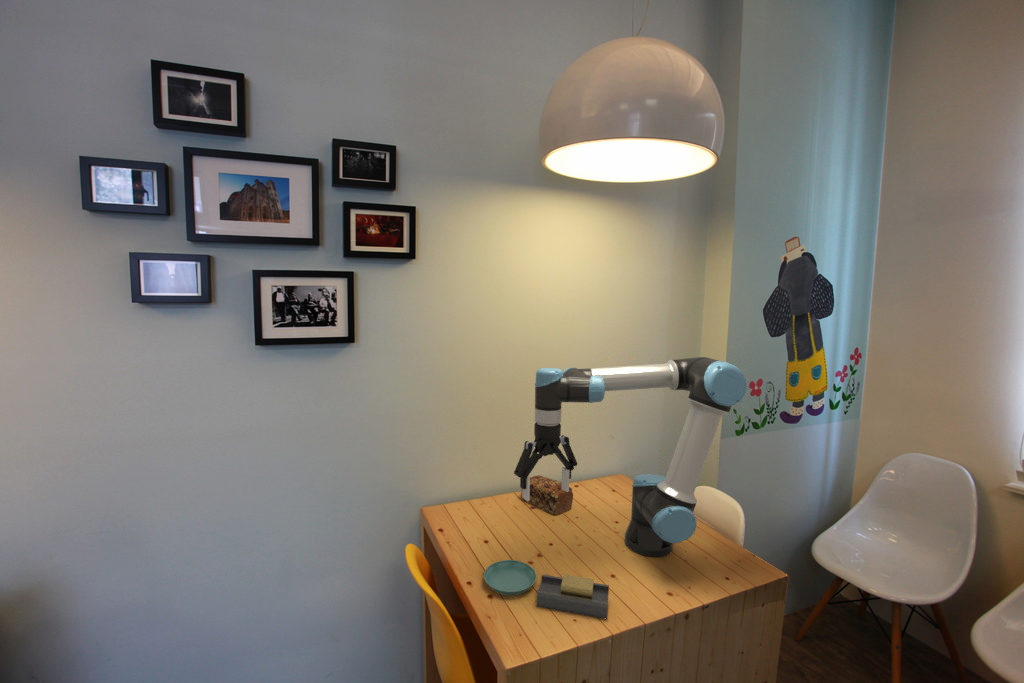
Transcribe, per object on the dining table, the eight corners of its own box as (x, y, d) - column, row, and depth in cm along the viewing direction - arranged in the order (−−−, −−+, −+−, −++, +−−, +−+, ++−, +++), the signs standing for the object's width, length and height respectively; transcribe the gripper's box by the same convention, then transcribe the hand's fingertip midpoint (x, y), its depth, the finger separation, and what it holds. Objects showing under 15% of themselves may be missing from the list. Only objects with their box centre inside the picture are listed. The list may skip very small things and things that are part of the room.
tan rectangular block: (593, 589, 121) (593, 578, 121) (592, 601, 117) (592, 590, 116) (563, 584, 123) (563, 574, 123) (560, 596, 118) (561, 585, 118)
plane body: (608, 599, 122) (608, 585, 122) (607, 619, 115) (608, 604, 114) (541, 588, 126) (542, 574, 126) (536, 606, 119) (536, 592, 118)
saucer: (476, 574, 133) (477, 565, 132) (523, 564, 138) (523, 556, 138) (493, 606, 119) (494, 596, 119) (545, 593, 124) (545, 584, 124)
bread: (573, 509, 175) (574, 484, 174) (554, 518, 168) (555, 491, 167) (538, 493, 189) (539, 470, 188) (519, 500, 182) (520, 476, 181)
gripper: (574, 414, 140) (573, 482, 142) (502, 424, 128) (501, 498, 130) (590, 420, 133) (588, 491, 135) (516, 431, 121) (514, 508, 123)
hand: (546, 494), depth 133 cm, fingers open, 13 cm apart
